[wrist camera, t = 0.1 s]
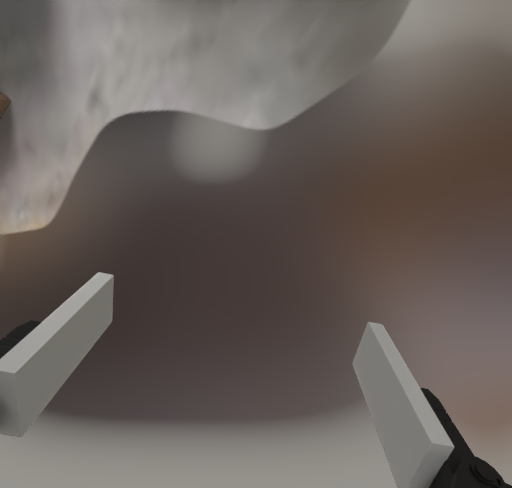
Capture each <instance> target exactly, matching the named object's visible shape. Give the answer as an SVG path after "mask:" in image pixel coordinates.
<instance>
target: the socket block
mask: <svg viewBox="0 0 512 488" xmlns="http://www.w3.org/2000/svg"><path fill="white" fill-rule="evenodd" d="M10 101H11V100H10V99H8V98H7V97H6V96H5V95H3V94H2V93H1V92H0V118H1V116H2V114H3V113H4V111H5V109H6V108H7V106H8V104H9V102H10Z"/></svg>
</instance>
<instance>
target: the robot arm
mask: <svg viewBox="0 0 512 488" xmlns="http://www.w3.org/2000/svg"><path fill="white" fill-rule="evenodd" d="M113 280H114V276H113V275H110V274H105V273H99V272H98V273H97V274H96V275H95V276H94V277H92V278H91V279H90V280H89V281H88V282H87V283H86V284H85V285H83V286H82V287H81V288H80V289H79V290H78V291H77V292H76V293H74V294H73V295H72V296H71V297H70V298H69V299H68V300H66V301H65V302H64V303H63V304H62V305H61V306H60V307H59V308H57V309H56V310H55V311H54V312H53V313H52V314H51V315H50V316H49V317H47V318H46V319H45V320H44V321H43V322H37V321H29V322H27V323H25V324H23V325H20V326H18V327H16V328H15V329H14V330H13V331H12V332H10V333H9V334H8V335H7V336H6V337H5V338H3V339H2V340H0V434H4V435H10V436H16V437H22V436H23V435H24V433H25V432H26V431H27V430H28V428H29V427H30V426H31V425H32V423H33V422H34V421H35V419H36V418H37V417H38V416H39V414H40V413H41V411H42V410H43V409H44V408H45V407H46V405H47V404H48V403H49V401H50V400H51V399H52V398H53V396H54V395H55V394H56V392H57V391H58V390H59V389H60V387H61V386H62V385H63V383H64V382H65V381H66V380H67V378H68V377H69V376H70V374H71V373H72V372H73V371H74V369H75V368H76V367H77V365H78V364H79V363H80V362H81V360H82V359H83V358H84V356H85V355H86V354H87V353H88V351H89V350H90V349H91V347H92V346H93V345H94V344H95V342H96V341H97V340H98V339H99V337H100V336H101V334H102V333H103V332H104V331H105V329H106V328H107V327H108V326H109V324H110V323H111V322H112V309H113V282H114V281H113ZM352 364H353V367H354V370H355V373H356V375H357V378H358V381H359V384H360V386H361V389H362V391H363V394H364V397H365V400H366V402H367V405H368V408H369V411H370V414H371V416H372V419H373V422H374V425H375V427H376V430H377V433H378V436H379V438H380V441H381V444H382V446H383V449H384V452H385V455H386V457H387V460H388V463H389V465H390V468H391V471H392V474H393V476H394V479H395V482H396V485H397V487H398V488H512V486H511V485H509V484H506V483H505V482H504V481H503V479H502V477H501V476H500V475H499V474H498V472H497V471H496V470H495V469H494V468H493V467H492V466H490V465H489V464H488V463H487V462H485V461H483V460H481V459H480V458H478V457H475V456H474V455H473V453H472V452H471V450H470V448H469V447H468V445H467V444H466V442H465V441H464V439H463V437H462V436H461V434H460V433H459V431H458V429H457V428H456V426H455V425H454V423H452V420H451V418H450V417H449V415H448V414H447V413H446V410H445V409H444V407H443V406H442V404H441V403H440V401H439V400H438V399H437V398H436V397H435V396H434V395H433V394H432V393H431V392H430V391H429V390H428V389H424V388H420V387H419V386H418V384H417V382H416V381H415V379H414V377H413V375H412V374H411V372H410V370H409V369H408V367H407V365H406V364H405V362H404V360H403V358H402V357H401V355H400V353H399V352H398V350H397V348H396V347H395V345H394V343H393V342H392V340H391V338H390V337H389V335H388V333H387V332H386V330H385V328H384V326H383V325H382V324H378V323H372V322H368V323H367V326H366V329H365V331H364V334H363V337H362V339H361V342H360V344H359V347H358V350H357V352H356V355H355V358H354V360H353V363H352Z"/></svg>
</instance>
